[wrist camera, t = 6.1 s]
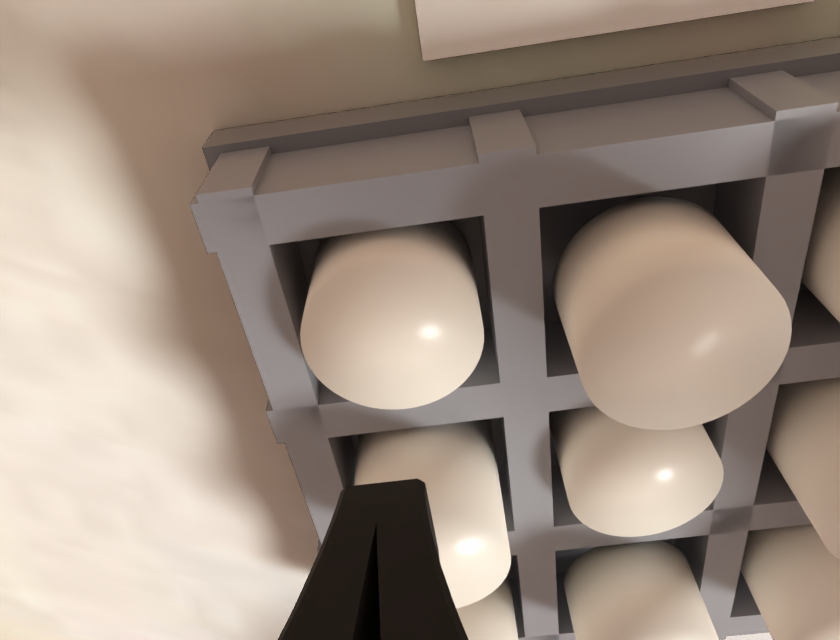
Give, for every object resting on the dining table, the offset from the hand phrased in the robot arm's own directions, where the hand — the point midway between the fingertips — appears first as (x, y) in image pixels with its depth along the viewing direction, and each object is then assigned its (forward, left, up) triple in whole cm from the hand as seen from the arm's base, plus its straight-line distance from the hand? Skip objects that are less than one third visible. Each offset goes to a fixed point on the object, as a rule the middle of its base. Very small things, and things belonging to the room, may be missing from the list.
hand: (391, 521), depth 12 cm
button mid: (-6, +6, -8) cm, 11 cm away
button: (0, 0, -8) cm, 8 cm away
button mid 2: (-6, +12, -6) cm, 15 cm away
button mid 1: (-6, 0, -6) cm, 9 cm away
